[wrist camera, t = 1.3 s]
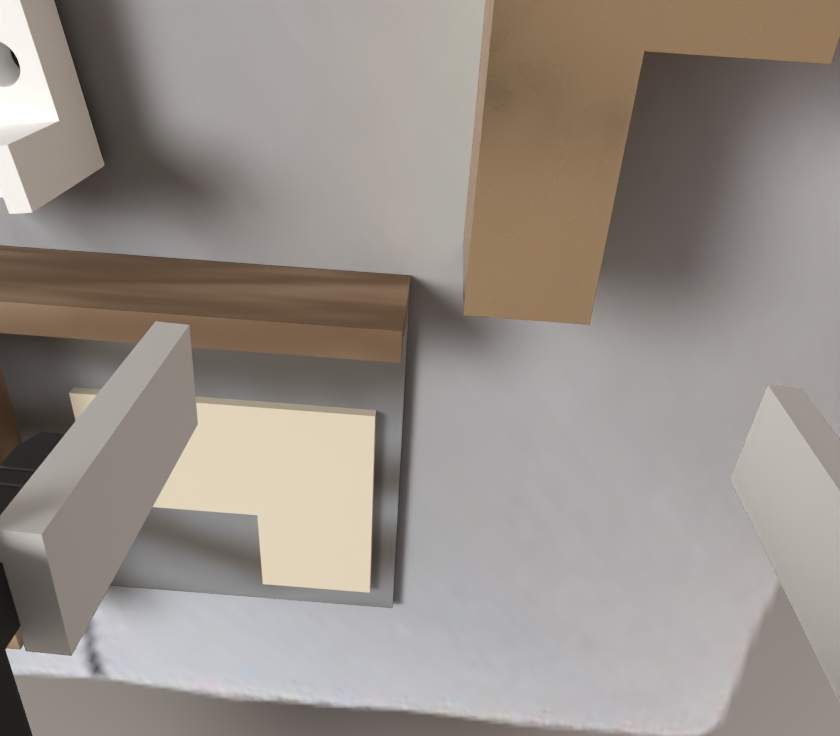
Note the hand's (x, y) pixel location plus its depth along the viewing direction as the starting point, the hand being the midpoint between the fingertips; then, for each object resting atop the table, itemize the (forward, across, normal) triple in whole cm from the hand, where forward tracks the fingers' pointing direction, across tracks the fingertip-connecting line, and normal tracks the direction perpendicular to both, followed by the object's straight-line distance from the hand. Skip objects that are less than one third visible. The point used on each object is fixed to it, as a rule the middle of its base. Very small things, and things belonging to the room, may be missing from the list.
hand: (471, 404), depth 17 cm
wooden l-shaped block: (+20, +5, +4) cm, 21 cm away
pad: (+19, -12, -21) cm, 31 cm away
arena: (+20, -14, -18) cm, 30 cm away
